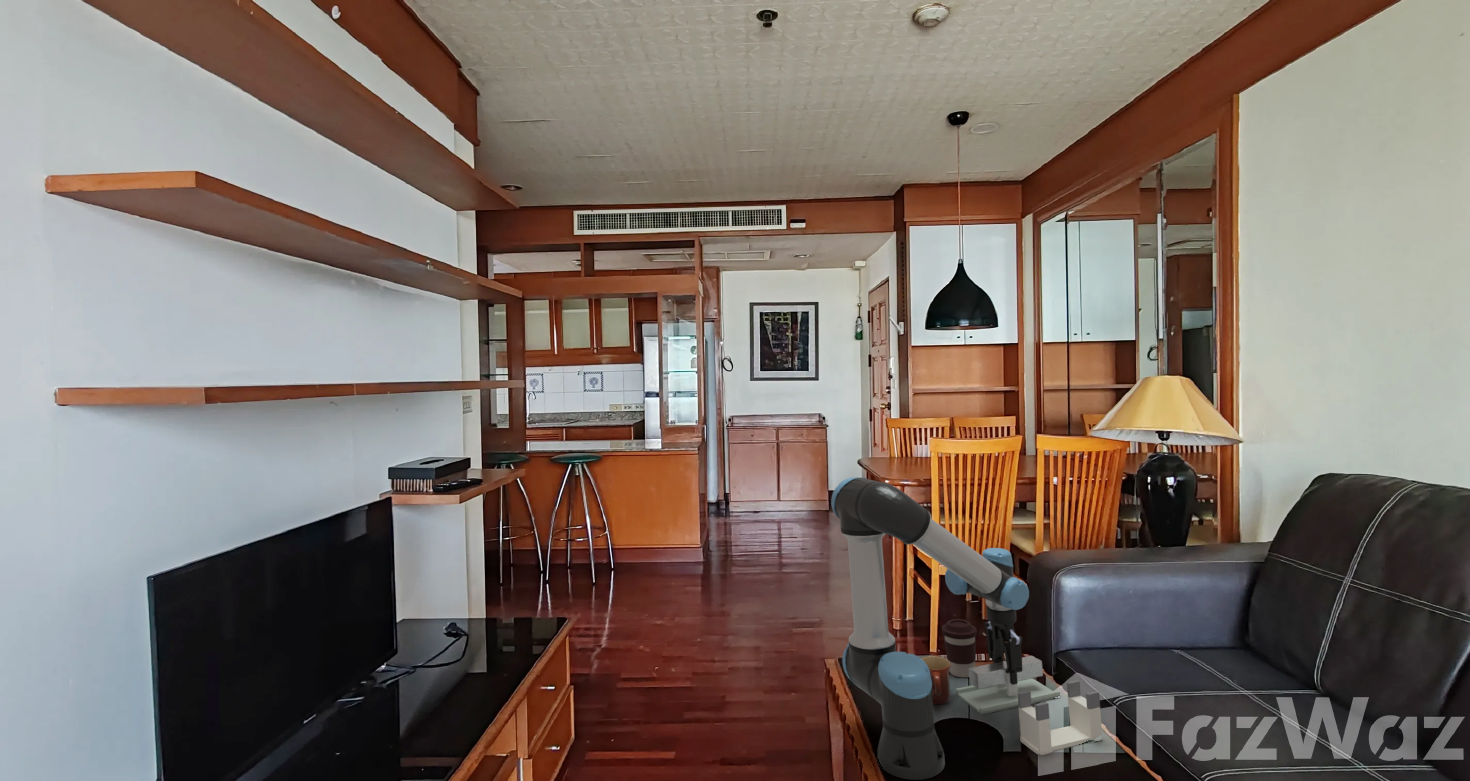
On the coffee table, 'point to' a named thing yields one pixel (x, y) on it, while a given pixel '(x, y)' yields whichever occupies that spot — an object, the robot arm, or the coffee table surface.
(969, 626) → the coffee cup
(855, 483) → the robot arm
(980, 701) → the pad
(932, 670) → the mug
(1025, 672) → the rail
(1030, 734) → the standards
